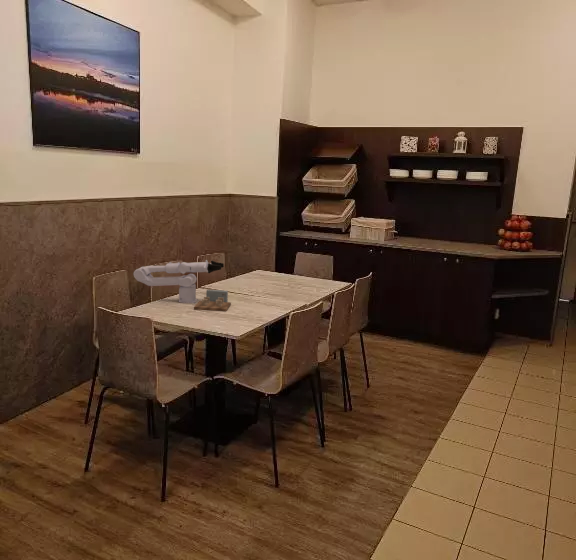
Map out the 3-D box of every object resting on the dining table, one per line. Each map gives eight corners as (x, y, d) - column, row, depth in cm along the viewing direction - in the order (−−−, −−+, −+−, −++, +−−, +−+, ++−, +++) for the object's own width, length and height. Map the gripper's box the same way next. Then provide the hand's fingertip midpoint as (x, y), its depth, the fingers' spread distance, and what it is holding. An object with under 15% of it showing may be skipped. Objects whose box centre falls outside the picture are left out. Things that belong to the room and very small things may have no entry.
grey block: (205, 302, 293) (206, 291, 291) (207, 301, 297) (207, 289, 295) (226, 303, 292) (226, 292, 291) (227, 302, 296) (227, 290, 295)
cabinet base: (193, 309, 277) (193, 300, 276) (199, 303, 290) (199, 294, 289) (226, 311, 276) (226, 302, 275) (230, 305, 289) (230, 296, 288)
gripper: (195, 262, 282) (219, 261, 281) (201, 258, 297) (224, 257, 296) (196, 274, 284) (220, 274, 283) (202, 270, 298) (225, 269, 297)
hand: (222, 266), depth 289 cm, fingers open, 7 cm apart
